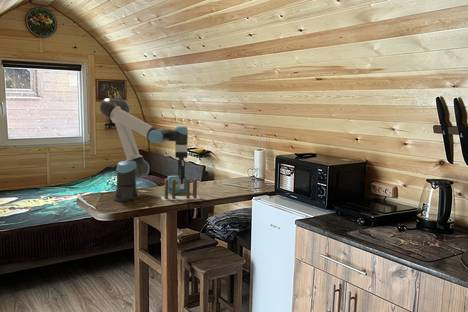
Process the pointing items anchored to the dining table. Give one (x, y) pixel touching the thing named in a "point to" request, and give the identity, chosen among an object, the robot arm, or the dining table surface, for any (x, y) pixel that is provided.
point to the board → (179, 198)
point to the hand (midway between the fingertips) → (181, 187)
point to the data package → (175, 185)
